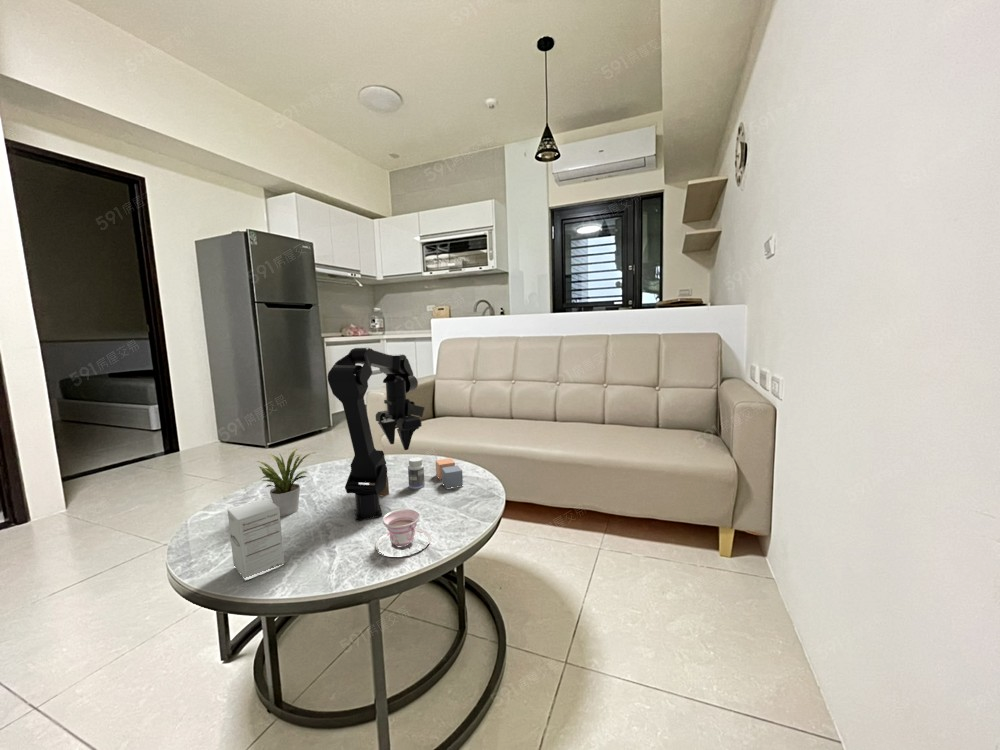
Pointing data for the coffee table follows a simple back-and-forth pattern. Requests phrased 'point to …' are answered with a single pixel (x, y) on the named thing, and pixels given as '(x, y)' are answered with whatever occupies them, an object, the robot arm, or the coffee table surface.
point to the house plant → (284, 484)
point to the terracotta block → (443, 465)
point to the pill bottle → (416, 473)
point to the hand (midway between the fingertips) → (399, 446)
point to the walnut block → (385, 491)
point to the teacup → (402, 527)
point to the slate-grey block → (452, 476)
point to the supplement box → (256, 537)
